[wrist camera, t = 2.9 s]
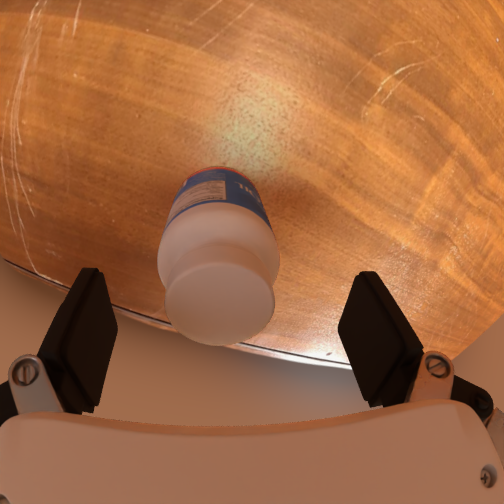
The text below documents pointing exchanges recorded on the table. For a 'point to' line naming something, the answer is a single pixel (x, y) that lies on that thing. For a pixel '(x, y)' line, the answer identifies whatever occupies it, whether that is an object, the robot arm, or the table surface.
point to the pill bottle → (218, 259)
